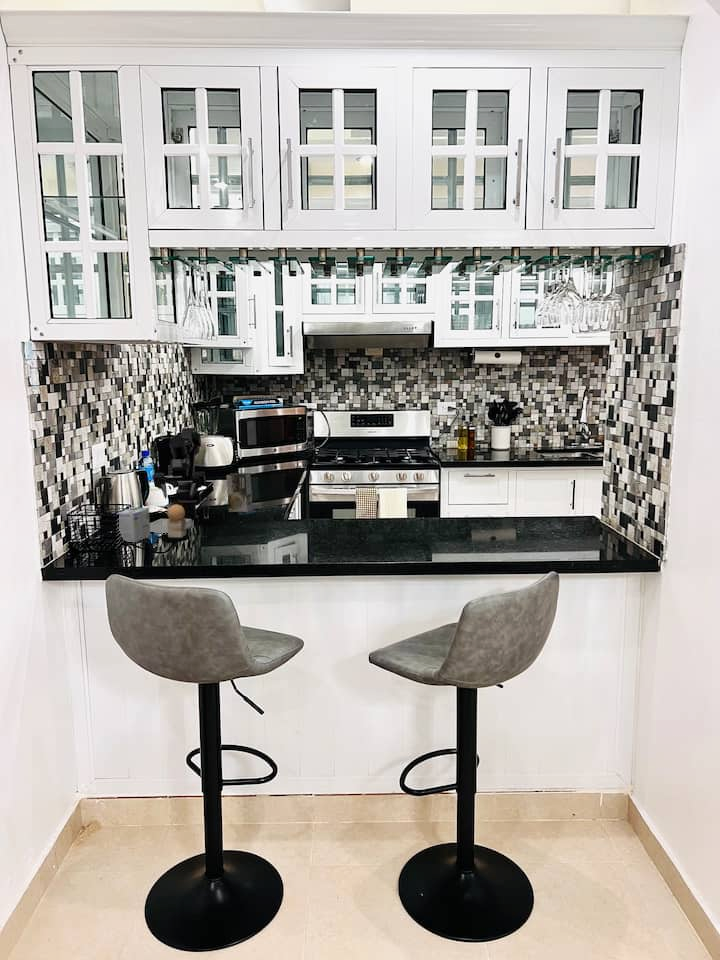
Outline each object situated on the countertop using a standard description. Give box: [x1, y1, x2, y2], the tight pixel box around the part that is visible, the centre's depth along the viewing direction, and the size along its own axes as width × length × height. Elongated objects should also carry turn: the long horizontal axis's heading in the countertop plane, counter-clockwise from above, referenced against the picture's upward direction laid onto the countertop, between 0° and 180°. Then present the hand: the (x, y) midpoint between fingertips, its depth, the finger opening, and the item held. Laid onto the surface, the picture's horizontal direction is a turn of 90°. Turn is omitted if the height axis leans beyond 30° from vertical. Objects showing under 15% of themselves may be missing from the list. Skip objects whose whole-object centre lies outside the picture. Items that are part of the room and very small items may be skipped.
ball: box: [167, 504, 185, 521], centre depth 256 cm, size 6×6×6 cm
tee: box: [167, 518, 187, 538], centre depth 257 cm, size 5×5×6 cm
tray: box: [150, 518, 193, 533], centre depth 268 cm, size 12×12×3 cm
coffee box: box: [226, 472, 254, 513], centre depth 305 cm, size 9×6×16 cm
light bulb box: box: [116, 507, 151, 544], centre depth 252 cm, size 11×7×11 cm, turn 166°
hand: (178, 497), depth 263 cm, fingers open, 9 cm apart
